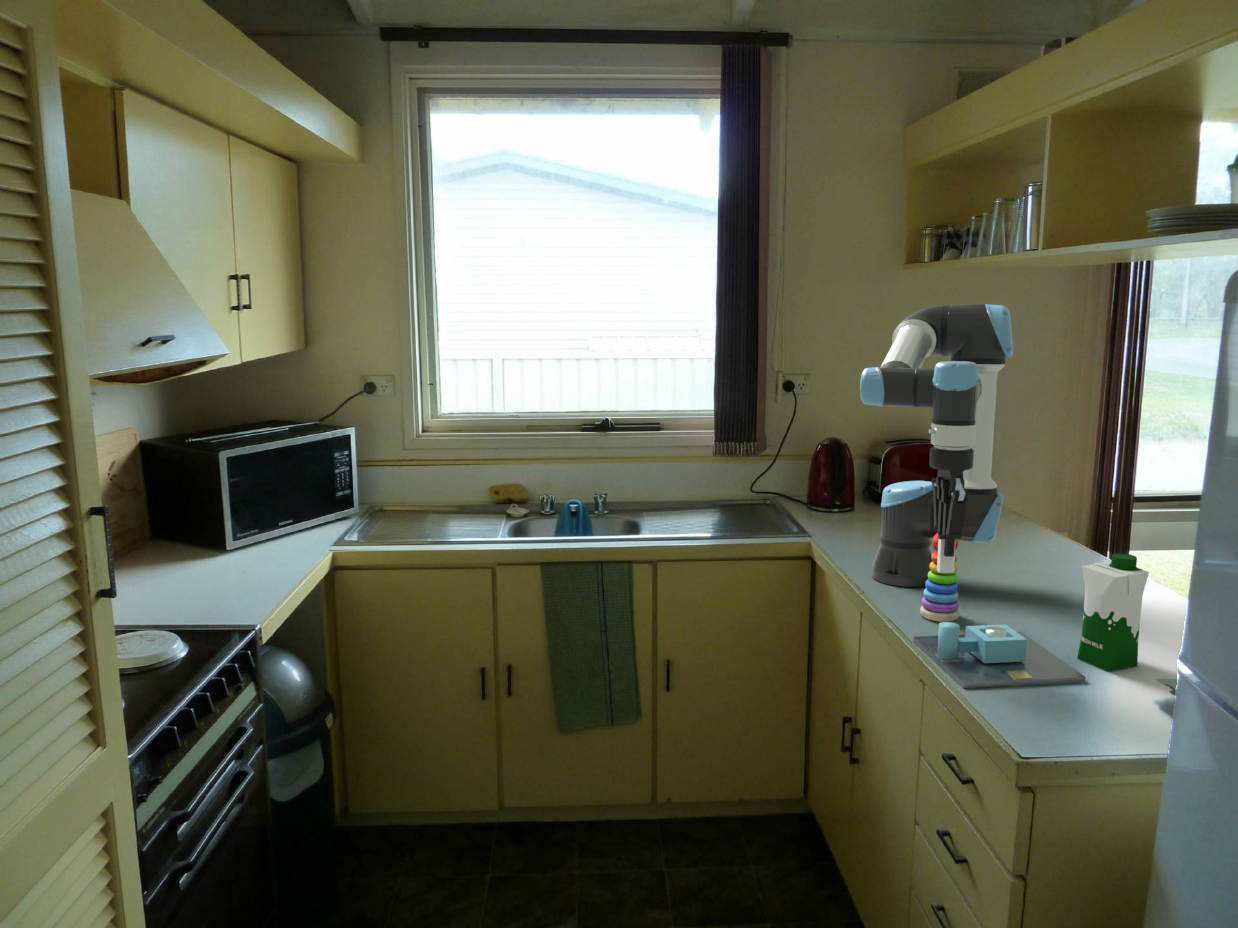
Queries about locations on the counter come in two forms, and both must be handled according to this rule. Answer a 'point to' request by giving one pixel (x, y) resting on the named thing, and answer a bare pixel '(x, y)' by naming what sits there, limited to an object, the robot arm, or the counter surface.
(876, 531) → the counter surface
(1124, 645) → the milk carton
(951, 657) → the blue handled square frame
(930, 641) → the post plate
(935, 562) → the stacking toy
